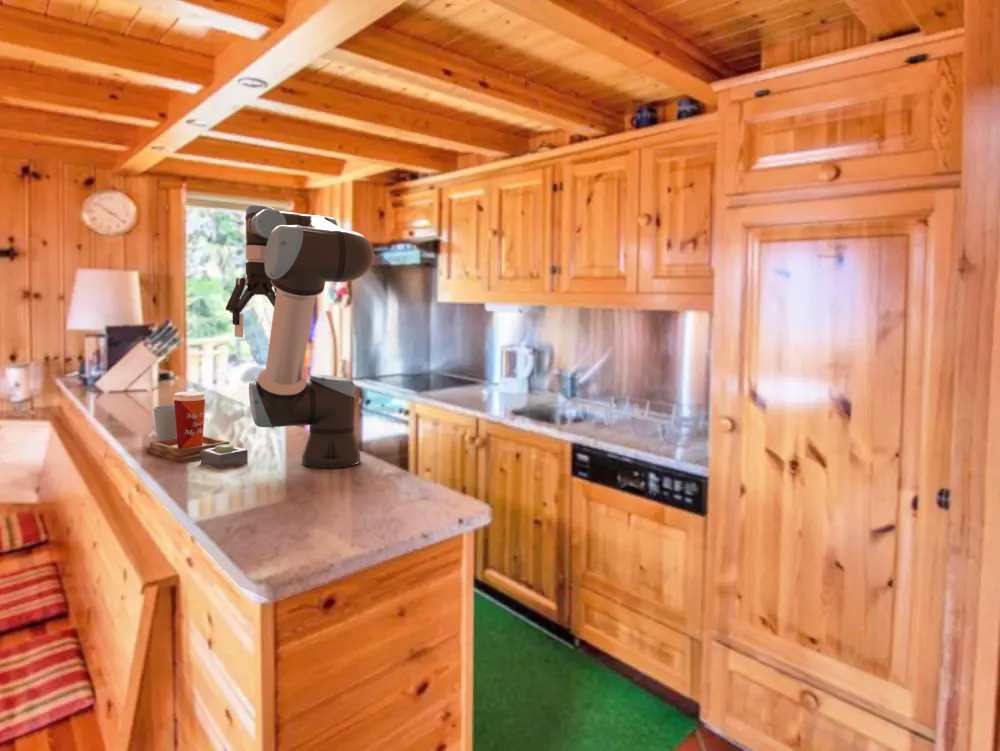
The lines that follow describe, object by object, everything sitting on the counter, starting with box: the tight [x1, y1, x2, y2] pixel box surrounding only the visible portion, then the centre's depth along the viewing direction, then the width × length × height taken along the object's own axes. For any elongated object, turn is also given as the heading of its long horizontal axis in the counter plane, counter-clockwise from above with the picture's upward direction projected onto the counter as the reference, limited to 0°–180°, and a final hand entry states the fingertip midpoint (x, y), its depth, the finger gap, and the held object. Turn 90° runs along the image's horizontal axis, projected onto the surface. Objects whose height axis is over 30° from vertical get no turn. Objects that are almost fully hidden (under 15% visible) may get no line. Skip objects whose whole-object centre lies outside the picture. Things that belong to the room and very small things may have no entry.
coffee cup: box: [172, 391, 207, 449], centre depth 173 cm, size 8×8×15 cm
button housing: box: [200, 445, 249, 470], centre depth 164 cm, size 8×8×4 cm
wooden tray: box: [146, 434, 230, 464], centre depth 174 cm, size 17×15×3 cm
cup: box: [152, 405, 177, 441], centre depth 183 cm, size 8×8×10 cm
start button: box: [215, 443, 234, 453], centre depth 164 cm, size 4×4×4 cm
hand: (259, 336), depth 183 cm, fingers open, 13 cm apart
